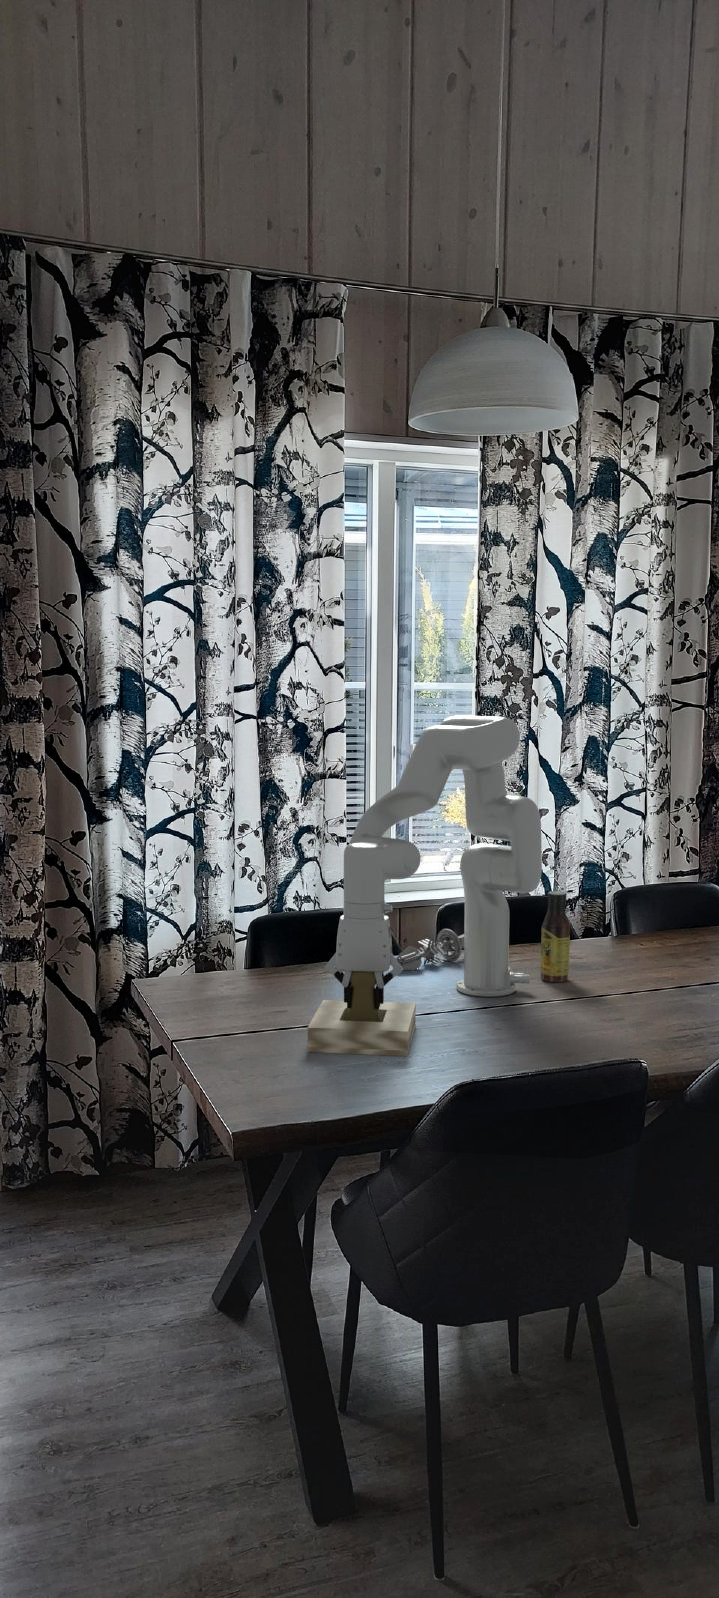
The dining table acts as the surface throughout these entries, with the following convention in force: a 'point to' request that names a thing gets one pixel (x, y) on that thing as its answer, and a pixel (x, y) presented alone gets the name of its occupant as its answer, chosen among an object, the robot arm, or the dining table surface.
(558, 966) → the sauce bottle
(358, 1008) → the cork
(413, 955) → the spaceship
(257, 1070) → the dining table surface
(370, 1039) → the socket block
